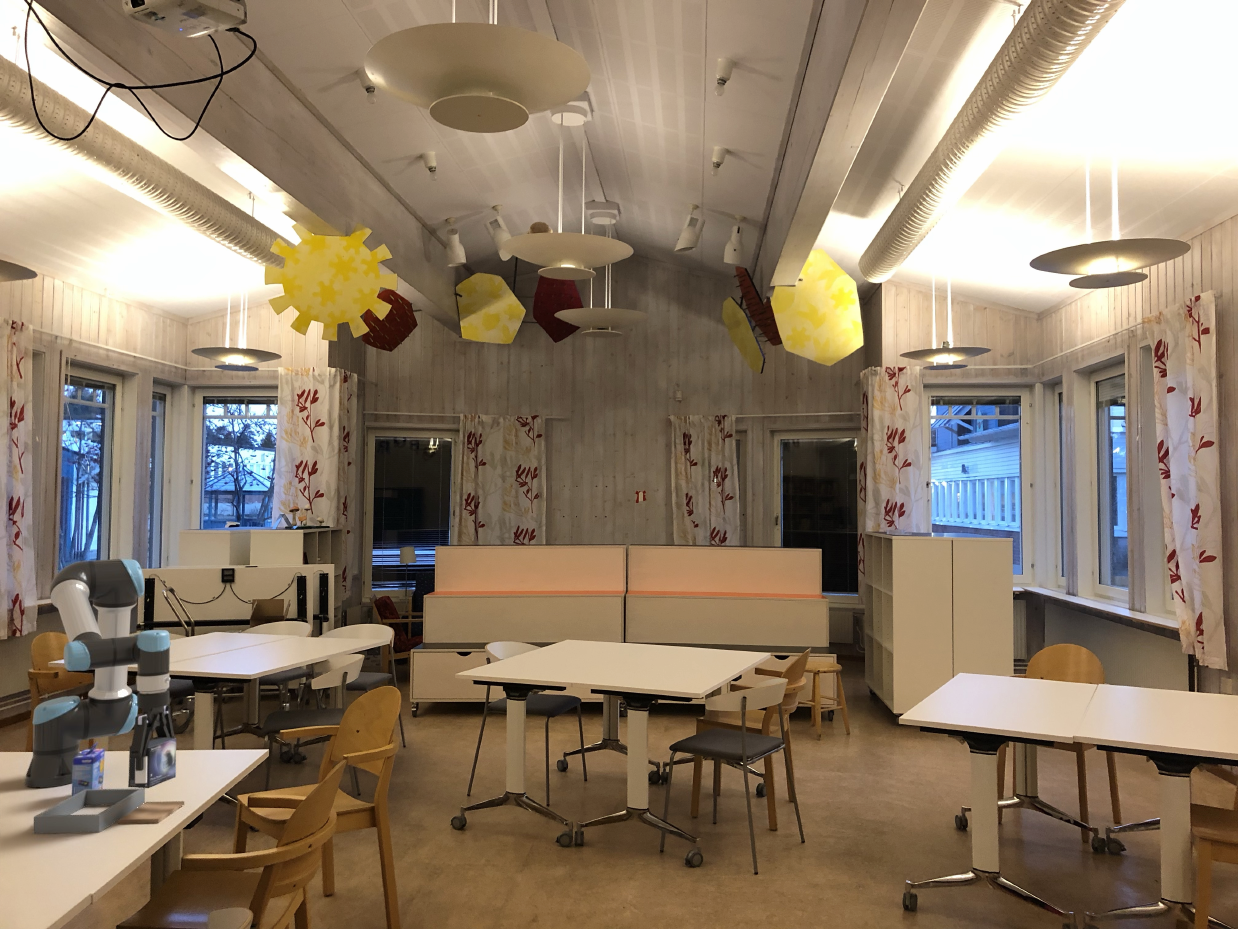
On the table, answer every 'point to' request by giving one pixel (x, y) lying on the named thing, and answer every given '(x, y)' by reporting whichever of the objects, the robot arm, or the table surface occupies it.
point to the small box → (156, 762)
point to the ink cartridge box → (88, 770)
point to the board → (151, 812)
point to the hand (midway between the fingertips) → (152, 776)
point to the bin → (64, 822)
